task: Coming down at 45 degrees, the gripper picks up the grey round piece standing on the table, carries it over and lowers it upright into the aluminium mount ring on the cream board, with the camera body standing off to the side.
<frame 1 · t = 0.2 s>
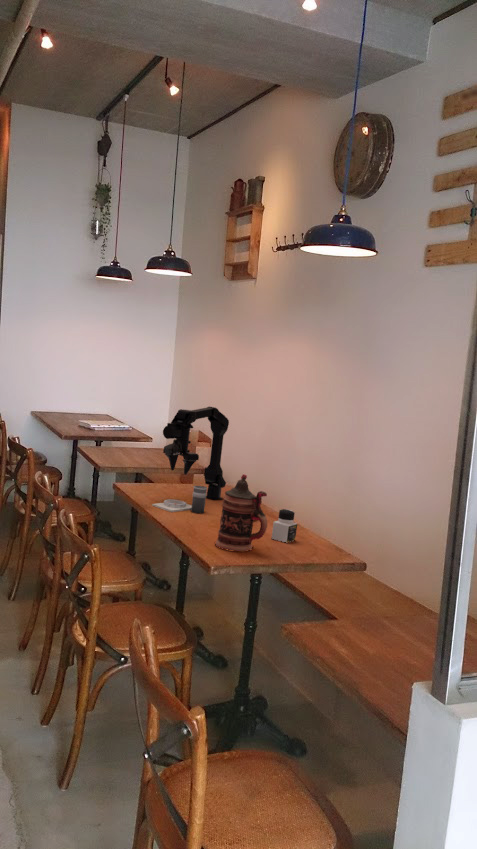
hand: (178, 472, 331), 14 cm above the table, tool pointing down, fingers open, 9 cm apart
grey round piece: (197, 511, 322), on the table
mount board: (174, 507, 325), on the table
medicine bottle: (283, 540, 292), on the table
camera: (240, 519, 319), on the table
beer stein: (236, 548, 272), on the table
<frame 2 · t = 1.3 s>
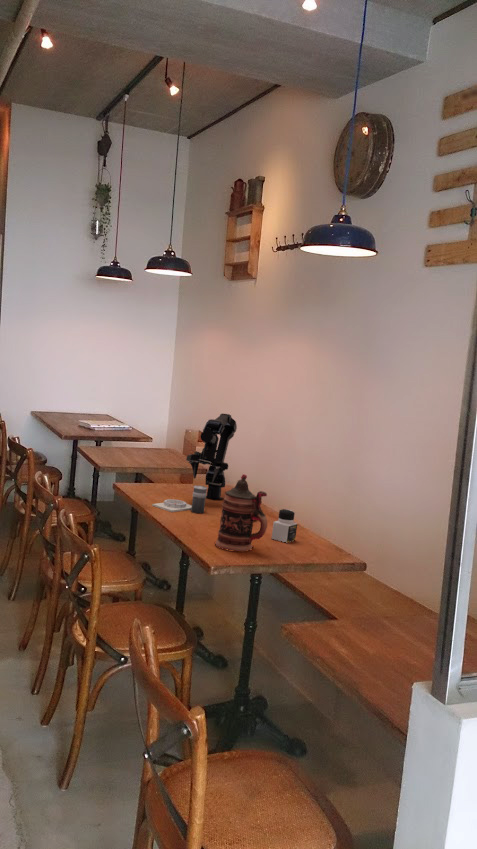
hand: (203, 480, 332), 12 cm above the table, tool tilted 20°, fingers open, 9 cm apart
nothing on the table moved.
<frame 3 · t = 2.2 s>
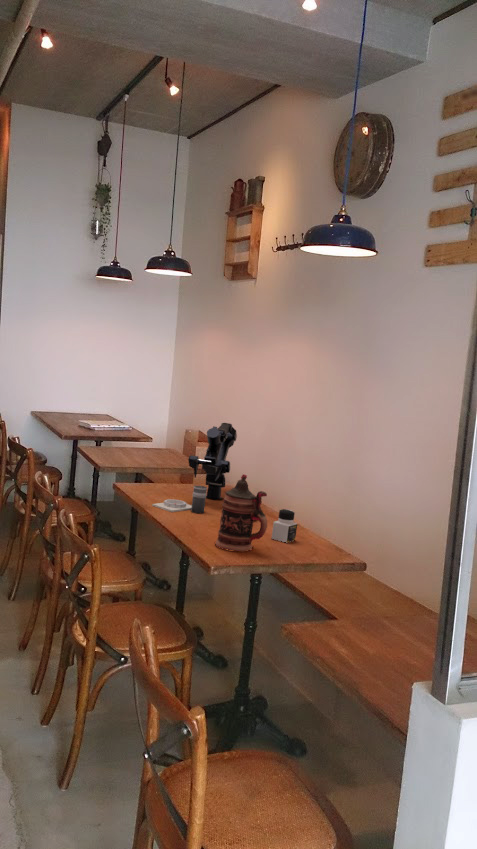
hand: (204, 478, 328), 13 cm above the table, tool tilted 45°, fingers open, 9 cm apart
nothing on the table moved.
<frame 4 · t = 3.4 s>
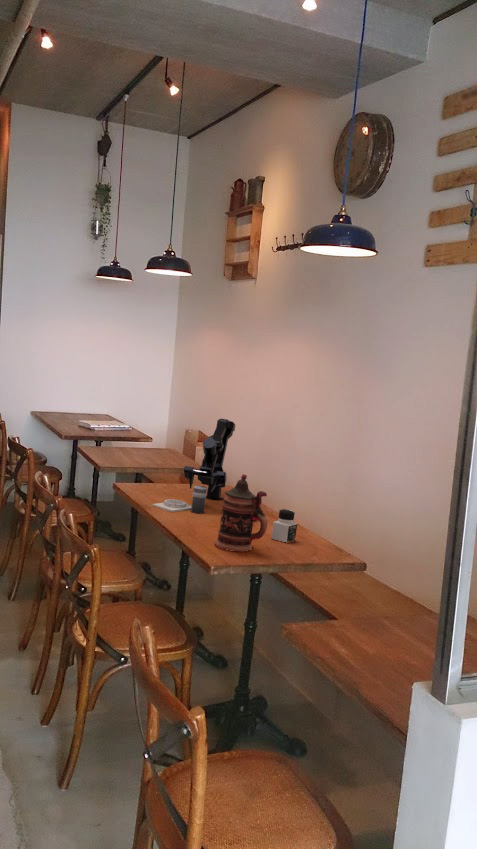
hand: (200, 490, 322), 9 cm above the table, tool tilted 45°, fingers open, 9 cm apart
nothing on the table moved.
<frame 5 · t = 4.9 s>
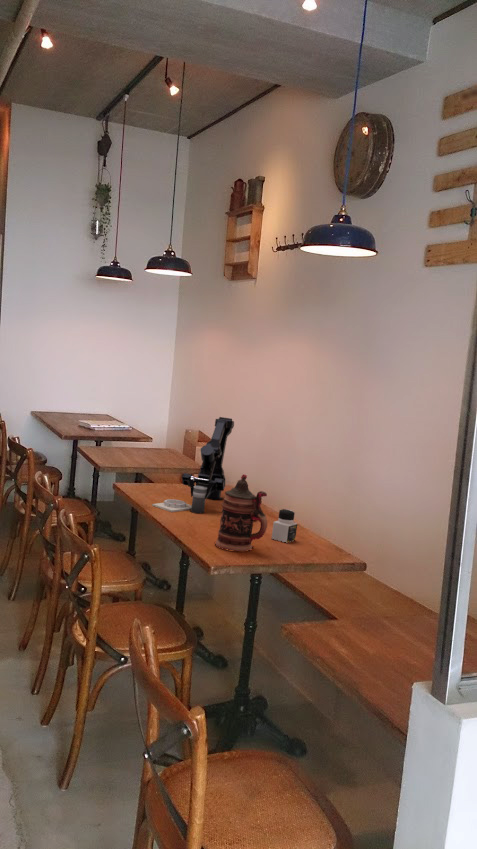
hand: (198, 497, 320), 7 cm above the table, tool tilted 45°, fingers closed on grey round piece, 6 cm apart
grey round piece: (197, 511, 322), on the table, touching gripper
everything else where it was.
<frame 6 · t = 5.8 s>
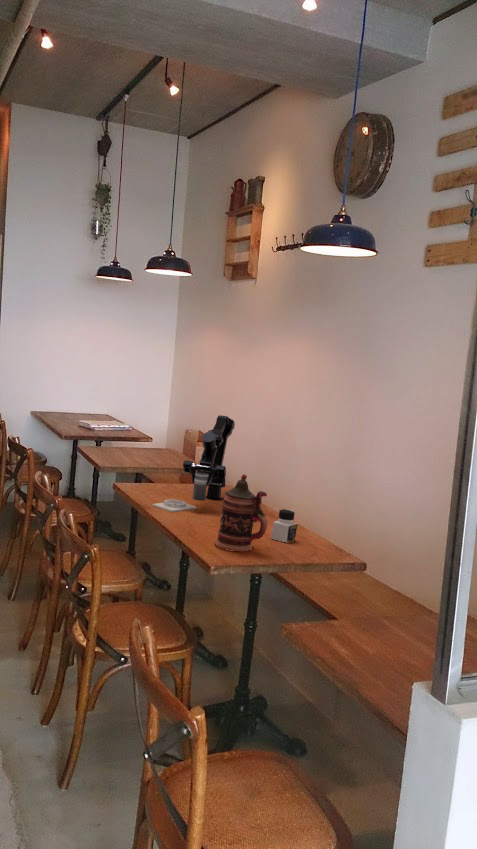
hand: (200, 484, 319), 12 cm above the table, tool tilted 45°, fingers closed on grey round piece, 6 cm apart
grey round piece: (198, 498, 321), point 6 cm above the table, touching gripper
everything else where it was.
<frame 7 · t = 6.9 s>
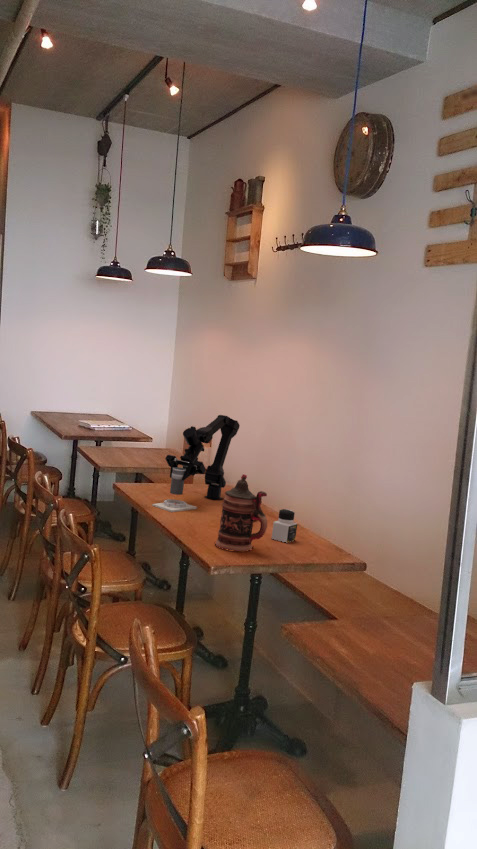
hand: (176, 478, 323), 13 cm above the table, tool tilted 45°, fingers closed on grey round piece, 6 cm apart
grey round piece: (176, 493, 325), point 6 cm above the table, touching gripper
everything else where it was.
when the fingers open (9 cm above the table, at t = 8.1 s): grey round piece drops 2 cm, resting on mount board.
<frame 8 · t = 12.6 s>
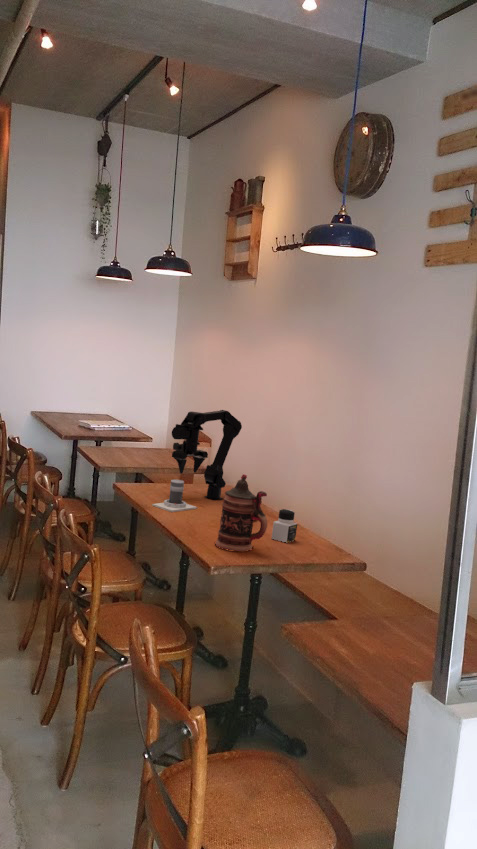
hand: (188, 472, 340), 13 cm above the table, tool pointing down, fingers open, 9 cm apart
grey round piece: (174, 505, 325), point 1 cm above the table, touching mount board
everything else where it was.
at the end: grey round piece 0.1 cm from the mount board (horizontally); grey round piece tilted 1°; grey round piece point 0.8 cm above the table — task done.
